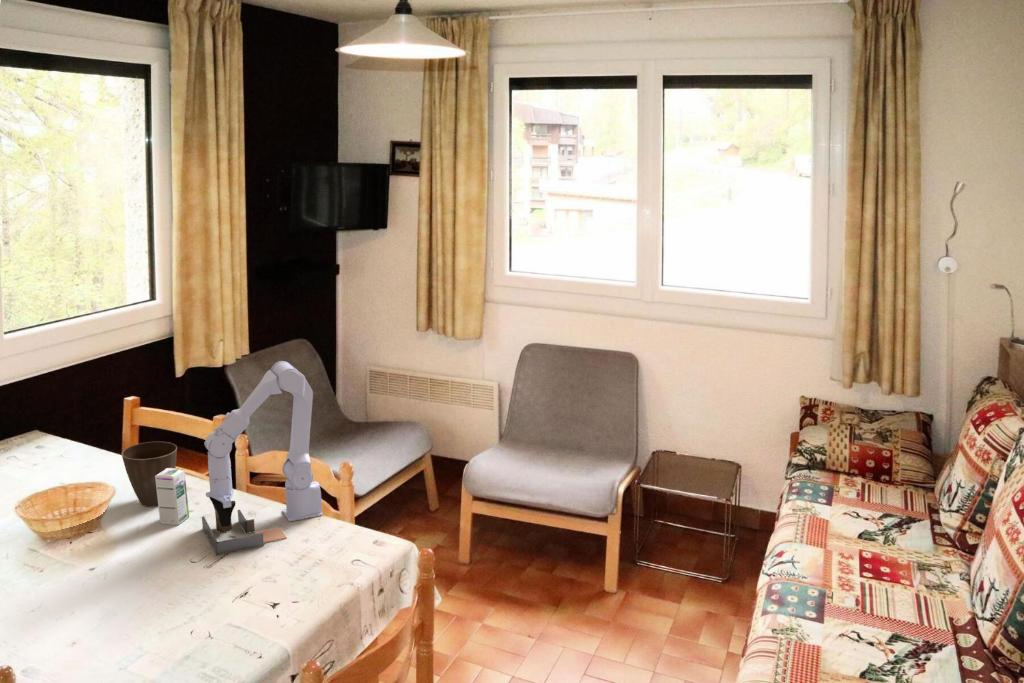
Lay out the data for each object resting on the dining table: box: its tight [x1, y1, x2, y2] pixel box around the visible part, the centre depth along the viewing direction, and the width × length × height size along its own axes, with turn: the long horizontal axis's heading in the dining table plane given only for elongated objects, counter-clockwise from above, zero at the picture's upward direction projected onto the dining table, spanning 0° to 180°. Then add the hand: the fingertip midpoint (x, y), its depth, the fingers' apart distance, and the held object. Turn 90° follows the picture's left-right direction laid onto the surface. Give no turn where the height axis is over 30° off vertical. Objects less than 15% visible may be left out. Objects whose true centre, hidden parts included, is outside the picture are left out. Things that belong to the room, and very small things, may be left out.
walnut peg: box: [214, 509, 233, 533], centre depth 256 cm, size 4×4×7 cm
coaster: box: [253, 526, 288, 544], centre depth 252 cm, size 7×7×1 cm
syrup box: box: [155, 467, 190, 526], centre depth 260 cm, size 6×6×14 cm
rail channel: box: [201, 509, 265, 557], centre depth 251 cm, size 12×18×4 cm
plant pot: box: [121, 441, 178, 508], centre depth 272 cm, size 15×15×16 cm
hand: (223, 522), depth 256 cm, fingers closed on walnut peg, 4 cm apart
